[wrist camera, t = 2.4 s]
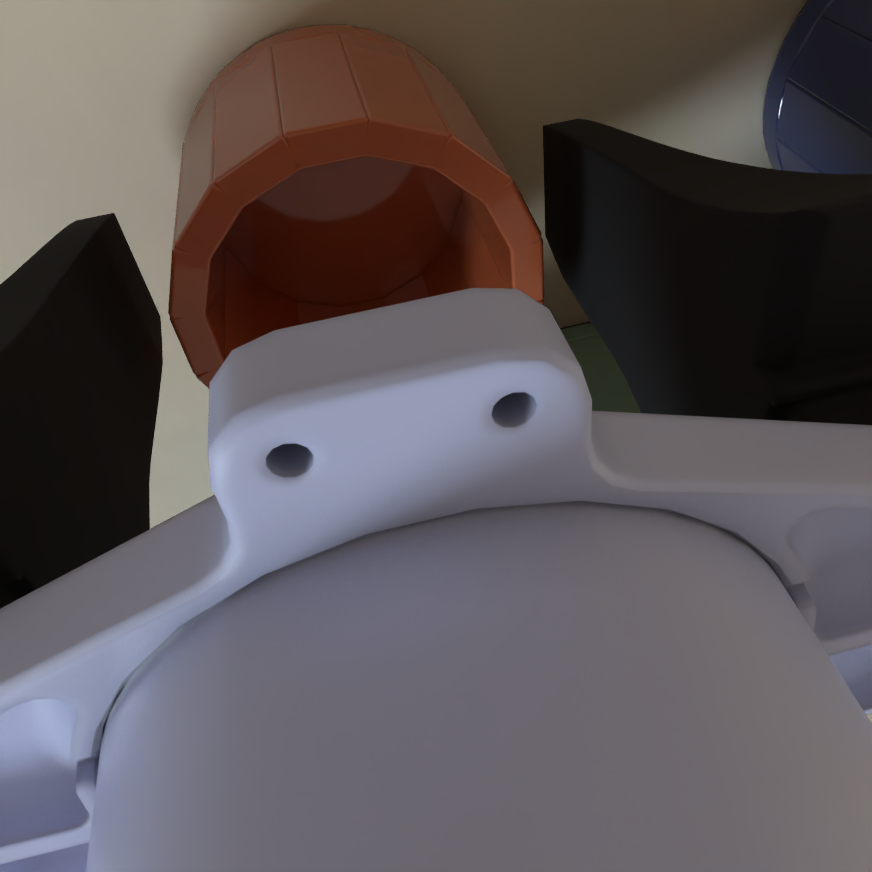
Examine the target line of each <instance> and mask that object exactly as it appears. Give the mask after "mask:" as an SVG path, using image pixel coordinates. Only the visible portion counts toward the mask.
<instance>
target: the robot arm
mask: <svg viewBox="0 0 872 872" xmlns="http://www.w3.org/2000/svg"><path fill="white" fill-rule="evenodd" d="M543 151H544V195H545V235H546V238H547V240H548V243H549V245H550V248H551V250H552V253H553V255H554V258H555V260H556V262H557V265H558V267H559V269H560V272H561V274H562V276H563V278H564V280H565V281H566V283H567V285H568V286H569V288H570V289H571V291H572V293H573V294H574V296H575V297H576V299H577V301H578V302H579V304H580V305H581V307H582V309H583V310H584V312H585V313H586V315H587V316H588V318H589V320H590V321H591V323H592V324H593V326H594V327H595V329H596V330H597V332H598V334H599V335H600V337H601V338H602V340H603V341H604V343H605V345H606V346H607V348H608V349H609V351H610V352H611V354H612V356H613V357H614V359H615V361H616V362H617V364H618V366H619V368H620V369H621V371H622V373H623V375H624V377H625V379H626V381H627V383H628V385H629V387H630V389H631V392H632V394H633V396H634V398H635V400H636V402H637V405H638V407H639V409H640V411H641V413H627V412H608V411H592V398H591V395H590V392H589V389H588V386H587V384H586V381H585V378H584V375H583V372H582V369H581V366H580V365H579V363H578V361H577V359H576V357H575V355H574V354H573V352H572V350H571V348H570V346H569V345H568V343H567V341H566V339H565V337H564V335H563V334H562V332H561V330H560V328H559V326H558V324H557V323H556V321H555V319H554V317H553V315H552V313H551V312H550V310H549V309H548V308H547V307H545V306H544V305H542V304H540V303H539V302H537V301H536V300H534V299H532V298H531V297H529V296H528V295H526V294H524V293H523V292H521V291H520V290H518V289H506V288H469V289H464V290H460V291H455V292H450V293H446V294H441V295H437V296H432V297H427V298H423V299H418V300H413V301H409V302H404V303H399V304H395V305H390V306H385V307H381V308H376V309H371V310H367V311H362V312H357V313H353V314H348V315H343V316H339V317H334V318H330V319H325V320H320V321H316V322H311V323H306V324H302V325H297V326H292V327H288V328H283V329H278V330H274V331H272V332H270V333H268V334H266V335H263V336H261V337H259V338H257V339H255V340H253V341H251V342H248V343H246V344H244V345H242V346H240V347H238V348H236V349H233V350H232V351H231V353H230V354H229V355H228V357H227V358H226V360H225V361H224V363H223V364H222V366H221V367H220V368H219V370H218V371H217V373H216V374H215V376H214V377H213V379H212V380H211V382H210V383H209V428H208V457H209V470H210V484H211V488H212V490H213V492H214V494H215V495H213V496H211V497H209V498H207V499H206V500H204V501H202V502H200V503H198V504H196V505H194V506H192V507H191V508H189V509H187V510H185V511H183V512H181V513H179V514H177V515H176V516H174V517H172V518H170V519H168V520H166V521H164V522H162V523H160V524H159V525H157V526H155V527H153V528H151V529H150V518H149V478H150V463H151V454H152V447H153V439H154V431H155V423H156V415H157V408H158V400H159V391H160V383H161V374H162V364H163V360H162V336H161V321H160V315H159V313H158V311H157V308H156V306H155V304H154V302H153V299H152V297H151V295H150V293H149V290H148V288H147V286H146V284H145V281H144V279H143V277H142V275H141V272H140V270H139V268H138V266H137V263H136V261H135V259H134V257H133V254H132V252H131V250H130V248H129V245H128V243H127V241H126V239H125V236H124V234H123V232H122V230H121V227H120V225H119V223H118V221H117V218H116V216H115V214H114V213H111V214H106V215H102V216H97V217H92V218H87V219H82V220H77V221H75V222H73V223H72V224H70V225H68V226H67V227H66V228H64V229H63V230H62V231H60V232H59V233H58V234H57V235H56V236H55V237H53V238H52V239H51V240H50V241H49V242H48V243H47V244H45V245H44V246H43V247H42V248H41V249H40V250H39V251H38V252H37V253H36V254H34V255H33V256H32V257H31V258H30V259H29V260H28V261H27V262H26V263H24V264H23V265H22V266H21V267H20V268H19V269H18V270H17V271H16V272H14V273H13V274H12V275H11V276H10V277H9V278H8V279H6V280H5V281H4V282H3V283H2V284H0V872H872V723H871V722H870V720H869V719H868V717H867V715H869V714H871V713H872V174H823V173H810V172H797V171H784V170H776V169H767V168H760V167H755V166H749V165H743V164H737V163H731V162H726V161H722V160H717V159H713V158H709V157H705V156H701V155H697V154H694V153H690V152H686V151H683V150H679V149H676V148H673V147H669V146H666V145H663V144H660V143H657V142H654V141H651V140H648V139H645V138H642V137H639V136H636V135H633V134H630V133H628V132H625V131H622V130H619V129H616V128H613V127H610V126H607V125H604V124H600V123H597V122H593V121H589V120H584V119H574V120H569V121H565V122H560V123H555V124H550V125H545V126H543Z"/></svg>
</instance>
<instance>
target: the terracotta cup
mask: <svg viewBox="0 0 872 872" xmlns="http://www.w3.org/2000/svg"><path fill="white" fill-rule="evenodd" d="M469 288H506V289H518V290H520V291H521V292H523V293H524V294H526V295H528V296H529V297H531V298H532V299H534V300H536V301H537V302H539V303H540V304H542V305H543V299H544V263H543V239H542V238H541V232H540V230H539V228H538V226H537V224H536V222H535V220H534V219H533V217H532V215H531V213H530V211H529V209H528V207H527V205H526V203H525V201H524V199H523V198H522V196H521V194H520V192H519V190H518V188H517V186H516V184H515V182H514V180H513V179H512V177H511V176H510V174H509V172H508V171H507V169H506V167H505V166H504V164H503V163H502V161H501V159H500V158H499V156H498V155H497V153H496V151H495V150H494V148H493V146H492V145H491V143H490V142H489V140H488V138H487V137H486V135H485V134H484V132H483V130H482V129H481V127H480V125H479V124H478V122H477V121H476V119H475V117H474V116H473V114H472V112H471V111H470V109H469V108H468V106H467V104H466V103H465V101H464V100H463V98H462V96H461V95H460V93H459V91H458V90H456V88H455V87H454V85H452V84H451V83H450V82H449V81H448V79H447V78H446V77H445V76H444V75H443V73H442V72H441V71H440V70H439V69H438V68H437V67H436V66H434V65H433V64H432V63H431V62H430V61H429V60H428V59H427V58H426V57H424V56H423V55H421V54H420V53H418V52H417V51H415V50H414V49H413V48H411V47H410V46H408V45H406V44H404V43H402V42H400V41H398V40H396V39H394V38H392V37H390V36H388V35H384V34H381V33H378V32H375V31H372V30H369V29H364V28H358V27H352V26H347V25H318V26H309V27H301V28H298V29H294V30H290V31H286V32H283V33H279V34H277V35H275V36H272V37H270V38H268V39H265V40H263V41H261V42H259V43H257V44H256V45H254V46H252V47H251V48H249V49H248V50H246V51H244V52H243V53H241V54H240V55H239V56H238V57H236V58H235V59H234V60H233V61H232V62H230V63H229V64H228V65H227V66H226V67H225V68H224V69H223V70H222V71H221V72H220V73H219V74H218V76H217V77H216V78H215V79H214V80H213V81H212V82H211V84H210V85H209V87H208V88H207V90H206V91H205V93H204V94H203V96H202V97H201V99H200V100H199V103H198V105H197V107H196V109H195V111H194V114H193V116H192V118H191V121H190V124H189V127H188V131H187V134H186V137H185V142H184V143H183V148H182V158H181V168H180V178H179V188H178V198H177V208H176V218H175V228H174V238H173V248H172V263H171V279H170V295H169V312H168V313H169V315H170V320H171V323H172V325H173V327H174V330H175V332H176V334H177V337H178V339H179V341H180V343H181V346H182V348H183V350H184V353H185V355H186V357H187V360H188V362H189V364H190V366H191V369H192V371H193V373H194V374H196V376H197V378H198V379H199V380H200V381H201V382H202V383H203V384H204V385H206V386H207V387H208V388H209V383H210V382H211V380H212V379H213V377H214V376H215V374H216V373H217V371H218V370H219V368H220V367H221V366H222V364H223V363H224V361H225V360H226V358H227V357H228V355H229V354H230V353H231V351H232V350H233V349H236V348H238V347H240V346H242V345H244V344H246V343H248V342H251V341H253V340H255V339H257V338H259V337H261V336H263V335H266V334H268V333H270V332H272V331H274V330H278V329H283V328H288V327H292V326H297V325H302V324H306V323H311V322H316V321H320V320H325V319H330V318H334V317H339V316H343V315H348V314H353V313H357V312H362V311H367V310H371V309H376V308H381V307H385V306H390V305H395V304H399V303H404V302H409V301H413V300H418V299H423V298H427V297H432V296H437V295H441V294H446V293H450V292H455V291H460V290H464V289H469Z"/></svg>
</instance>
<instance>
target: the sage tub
mask: <svg viewBox="0 0 872 872" xmlns="http://www.w3.org/2000/svg"><path fill="white" fill-rule="evenodd" d="M560 330H561V332H562V334H563V335H564V337H565V339H566V341H567V343H568V345H569V346H570V348H571V350H572V352H573V354H574V355H575V357H576V359H577V361H578V363H579V365H580V366H581V369H582V372H583V375H584V378H585V381H586V384H587V386H588V389H589V392H590V395H591V398H592V411H608V412H627V413H641V411H640V409H639V407H638V405H637V402H636V400H635V398H634V396H633V394H632V392H631V389H630V387H629V385H628V383H627V381H626V379H625V377H624V375H623V373H622V371H621V369H620V368H619V366H618V364H617V362H616V361H615V359H614V357H613V356H612V354H611V352H610V351H609V349H608V348H607V346H606V345H605V343H604V341H603V340H602V338H601V337H600V335H599V334H598V332H597V330H596V329H595V327H594V326H593V324H592V323H587V324H582V325H578V326H573V327H568V328H564V329H560Z"/></svg>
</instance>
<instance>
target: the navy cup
mask: <svg viewBox="0 0 872 872" xmlns="http://www.w3.org/2000/svg"><path fill="white" fill-rule="evenodd" d="M763 134H764V140H765V146H766V150H767V153H768V156H769V159H770V162H771V164H772V166H773V168H774V169H776V170H784V171H797V172H810V173H823V174H872V0H809V1H808V2H807V4H806V5H805V7H804V8H803V10H802V11H801V12H800V14H799V15H798V17H797V18H796V20H795V22H794V24H793V25H792V27H791V29H790V31H789V32H788V34H787V36H786V38H785V40H784V42H783V44H782V47H781V49H780V51H779V53H778V55H777V57H776V60H775V63H774V66H773V69H772V72H771V75H770V78H769V82H768V86H767V90H766V95H765V101H764V110H763Z"/></svg>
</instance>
